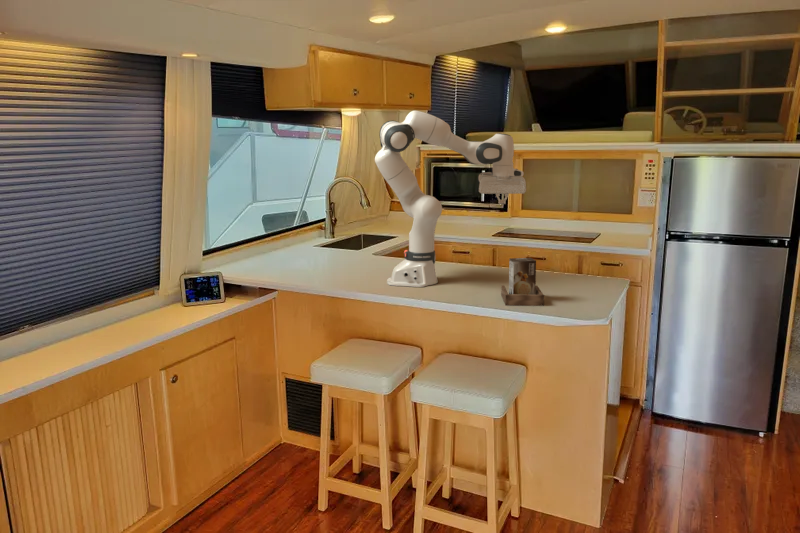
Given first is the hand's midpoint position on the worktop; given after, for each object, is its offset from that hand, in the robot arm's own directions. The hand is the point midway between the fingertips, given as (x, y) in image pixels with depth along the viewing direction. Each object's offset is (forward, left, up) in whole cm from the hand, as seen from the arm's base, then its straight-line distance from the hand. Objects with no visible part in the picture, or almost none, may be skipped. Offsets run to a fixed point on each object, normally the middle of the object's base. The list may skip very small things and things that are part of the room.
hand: (501, 204), depth 256 cm
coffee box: (+5, -32, -34) cm, 47 cm away
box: (+5, -33, -34) cm, 48 cm away
